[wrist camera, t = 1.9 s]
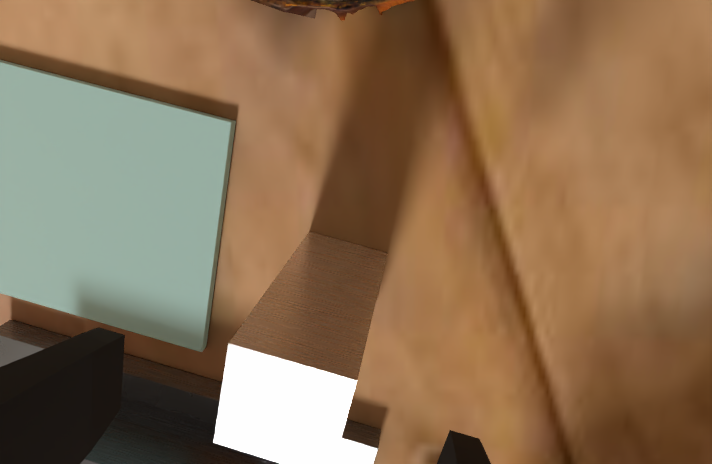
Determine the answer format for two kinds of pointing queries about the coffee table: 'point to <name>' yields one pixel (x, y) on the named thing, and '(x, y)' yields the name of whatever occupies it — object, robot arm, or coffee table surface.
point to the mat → (111, 204)
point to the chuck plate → (168, 413)
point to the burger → (329, 6)
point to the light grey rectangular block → (301, 354)
